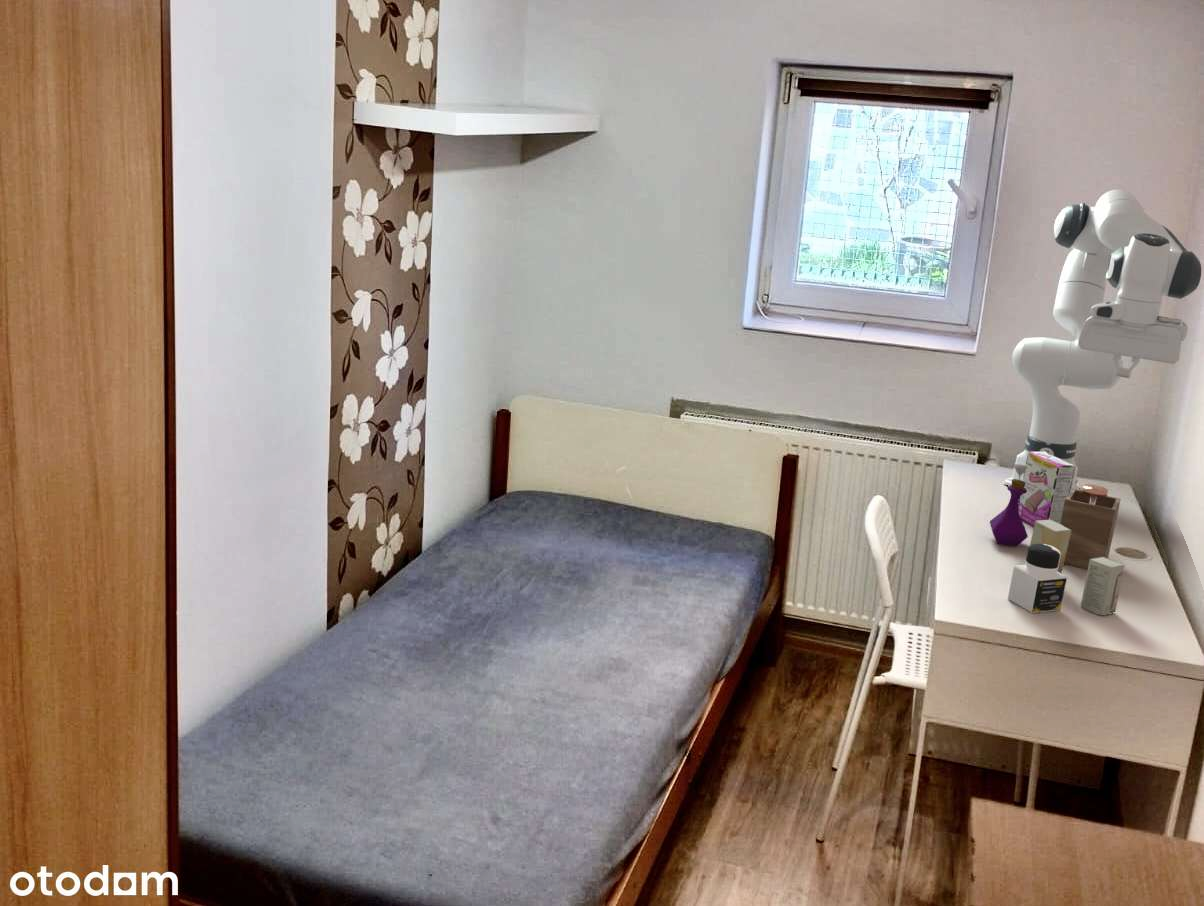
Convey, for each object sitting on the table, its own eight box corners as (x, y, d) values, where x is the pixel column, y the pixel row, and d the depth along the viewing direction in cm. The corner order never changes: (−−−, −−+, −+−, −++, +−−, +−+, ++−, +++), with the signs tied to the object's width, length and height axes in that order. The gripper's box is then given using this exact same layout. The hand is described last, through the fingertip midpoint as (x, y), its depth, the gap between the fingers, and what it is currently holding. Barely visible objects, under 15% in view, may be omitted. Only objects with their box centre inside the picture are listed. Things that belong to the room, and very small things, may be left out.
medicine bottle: (1032, 614, 238) (1043, 554, 235) (1006, 599, 244) (1017, 541, 241) (1060, 610, 241) (1073, 552, 238) (1035, 596, 247) (1046, 539, 244)
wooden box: (1059, 548, 276) (1072, 488, 273) (1107, 559, 272) (1120, 498, 268) (1052, 561, 268) (1065, 499, 264) (1101, 573, 264) (1115, 510, 260)
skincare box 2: (1115, 613, 242) (1126, 565, 239) (1101, 617, 240) (1112, 567, 237) (1093, 603, 246) (1103, 555, 243) (1078, 606, 244) (1089, 558, 241)
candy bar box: (1014, 517, 296) (1026, 451, 291) (1031, 516, 297) (1044, 450, 293) (1045, 534, 286) (1058, 465, 281) (1062, 533, 287) (1076, 465, 283)
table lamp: (1067, 538, 274) (1078, 479, 270) (1104, 546, 271) (1117, 487, 267) (1061, 547, 268) (1073, 488, 264) (1099, 556, 264) (1112, 496, 260)
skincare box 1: (1022, 575, 258) (1033, 519, 254) (1038, 574, 260) (1049, 518, 256) (1044, 587, 252) (1055, 530, 249) (1060, 586, 254) (1072, 529, 251)
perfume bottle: (1025, 550, 273) (1040, 472, 268) (989, 545, 274) (1004, 467, 269) (1021, 539, 280) (1036, 462, 275) (987, 534, 282) (1001, 458, 277)
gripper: (1190, 318, 262) (1176, 383, 266) (1088, 303, 271) (1075, 366, 275) (1188, 322, 257) (1173, 388, 261) (1084, 306, 265) (1071, 370, 269)
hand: (1122, 376), depth 268 cm, fingers closed
